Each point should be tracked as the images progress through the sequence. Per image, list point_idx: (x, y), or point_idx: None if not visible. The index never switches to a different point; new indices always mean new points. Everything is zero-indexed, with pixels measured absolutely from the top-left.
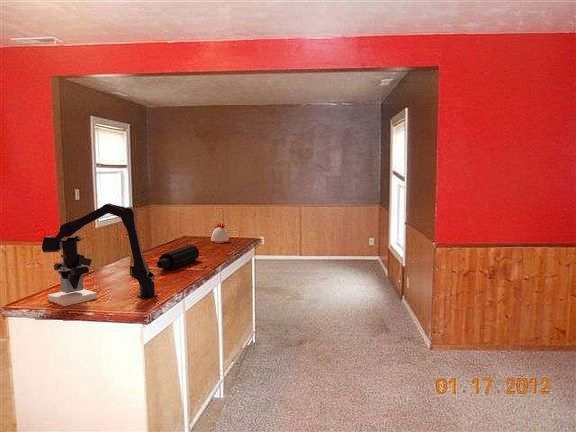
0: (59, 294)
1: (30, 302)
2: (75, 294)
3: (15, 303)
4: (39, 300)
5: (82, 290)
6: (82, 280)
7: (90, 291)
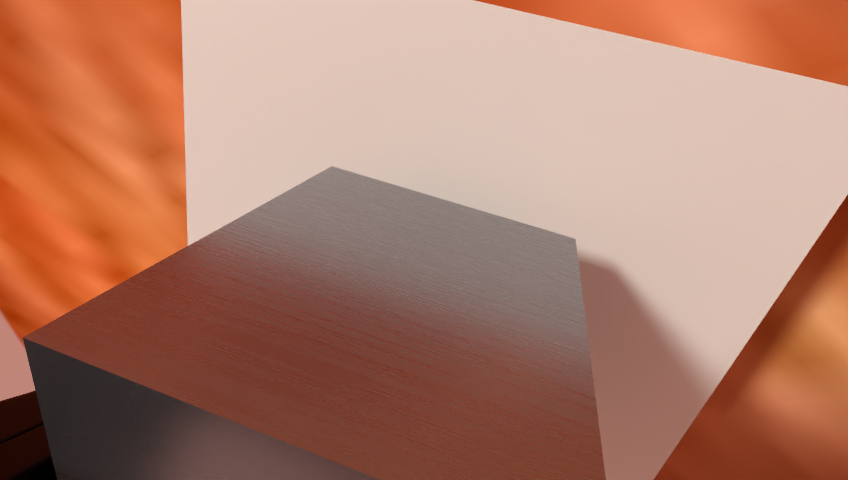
0: None
1: None
2: None
3: None
4: None
5: (406, 78)
6: (594, 396)
7: (647, 67)
